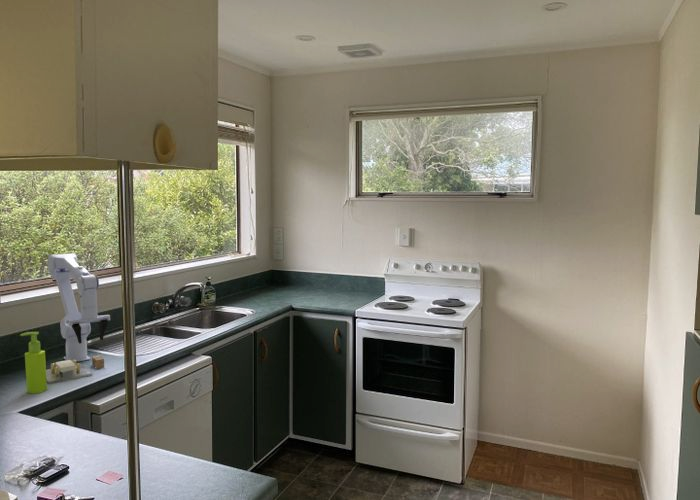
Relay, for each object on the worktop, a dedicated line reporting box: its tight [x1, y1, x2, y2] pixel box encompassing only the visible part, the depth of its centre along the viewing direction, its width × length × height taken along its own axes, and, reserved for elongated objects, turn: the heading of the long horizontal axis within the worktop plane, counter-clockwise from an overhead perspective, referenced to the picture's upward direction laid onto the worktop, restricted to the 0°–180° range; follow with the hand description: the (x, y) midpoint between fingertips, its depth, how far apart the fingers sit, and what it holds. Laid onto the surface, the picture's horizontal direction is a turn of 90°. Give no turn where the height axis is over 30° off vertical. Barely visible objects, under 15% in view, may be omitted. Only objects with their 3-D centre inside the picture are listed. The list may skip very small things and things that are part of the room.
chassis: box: [46, 360, 93, 385], centre depth 200 cm, size 16×14×4 cm
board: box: [54, 360, 76, 372], centre depth 200 cm, size 9×5×2 cm, turn 39°
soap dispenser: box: [19, 331, 48, 395], centre depth 182 cm, size 6×7×20 cm
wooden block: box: [91, 355, 105, 369], centre depth 210 cm, size 6×3×3 cm, turn 39°
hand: (90, 341), depth 209 cm, fingers open, 7 cm apart
